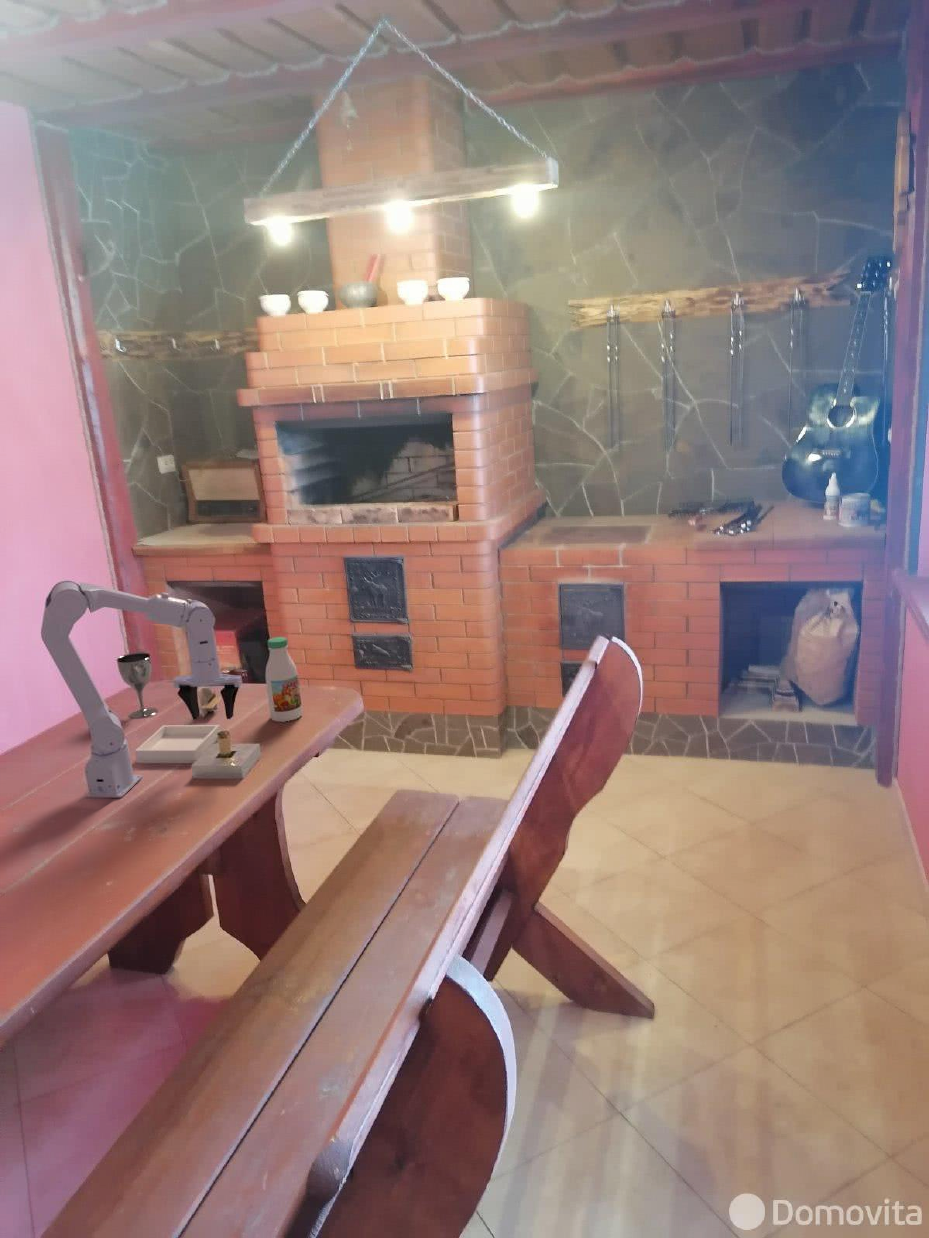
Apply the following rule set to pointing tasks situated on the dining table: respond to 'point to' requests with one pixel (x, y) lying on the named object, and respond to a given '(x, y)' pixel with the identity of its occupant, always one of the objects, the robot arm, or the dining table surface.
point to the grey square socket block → (226, 762)
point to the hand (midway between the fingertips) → (213, 717)
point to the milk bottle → (282, 682)
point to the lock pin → (224, 744)
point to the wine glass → (137, 678)
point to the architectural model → (207, 700)
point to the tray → (177, 744)
